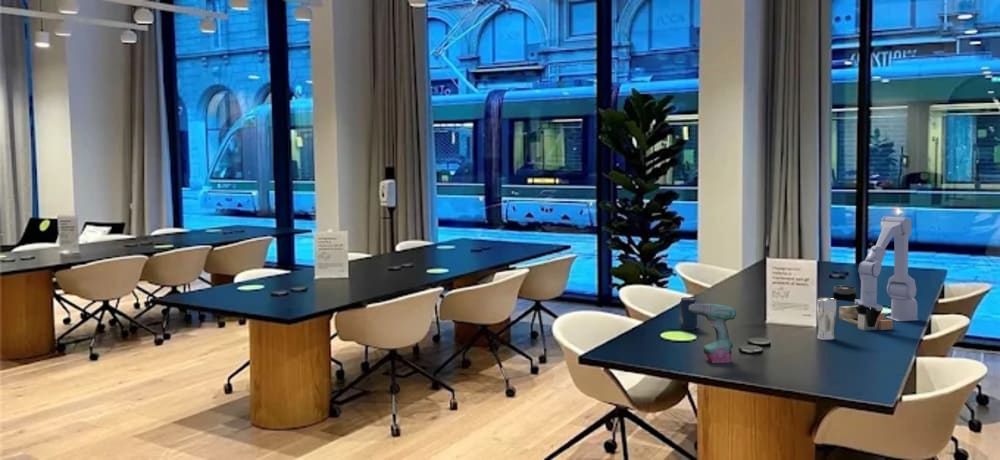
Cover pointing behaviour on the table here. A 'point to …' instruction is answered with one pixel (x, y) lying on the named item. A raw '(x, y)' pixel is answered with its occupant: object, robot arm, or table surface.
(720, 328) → the power drill
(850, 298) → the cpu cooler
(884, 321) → the brown stepped block
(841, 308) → the vise body
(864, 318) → the block
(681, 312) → the soda can
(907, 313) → the robot arm
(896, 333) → the table surface
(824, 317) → the beer glass
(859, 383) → the table surface
